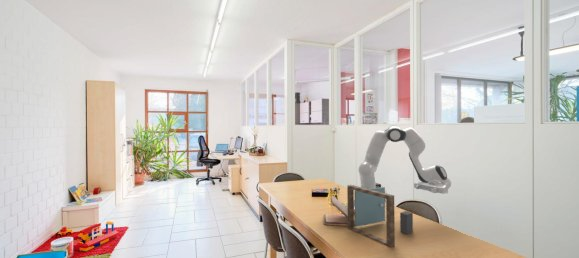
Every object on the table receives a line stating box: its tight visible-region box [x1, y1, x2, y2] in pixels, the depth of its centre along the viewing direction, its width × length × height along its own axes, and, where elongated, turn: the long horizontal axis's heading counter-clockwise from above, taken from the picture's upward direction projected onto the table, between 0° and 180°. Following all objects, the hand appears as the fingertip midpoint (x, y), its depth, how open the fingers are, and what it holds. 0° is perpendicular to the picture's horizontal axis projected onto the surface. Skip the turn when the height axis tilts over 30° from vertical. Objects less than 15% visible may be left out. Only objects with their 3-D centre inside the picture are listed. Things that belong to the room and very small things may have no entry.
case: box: [323, 195, 355, 227], centre depth 185 cm, size 20×21×16 cm
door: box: [354, 186, 386, 228], centre depth 174 cm, size 24×3×23 cm, turn 113°
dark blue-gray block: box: [399, 210, 414, 235], centre depth 164 cm, size 4×6×12 cm
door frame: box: [346, 184, 396, 248], centre depth 158 cm, size 32×3×28 cm, turn 33°
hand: (423, 189), depth 174 cm, fingers open, 8 cm apart
